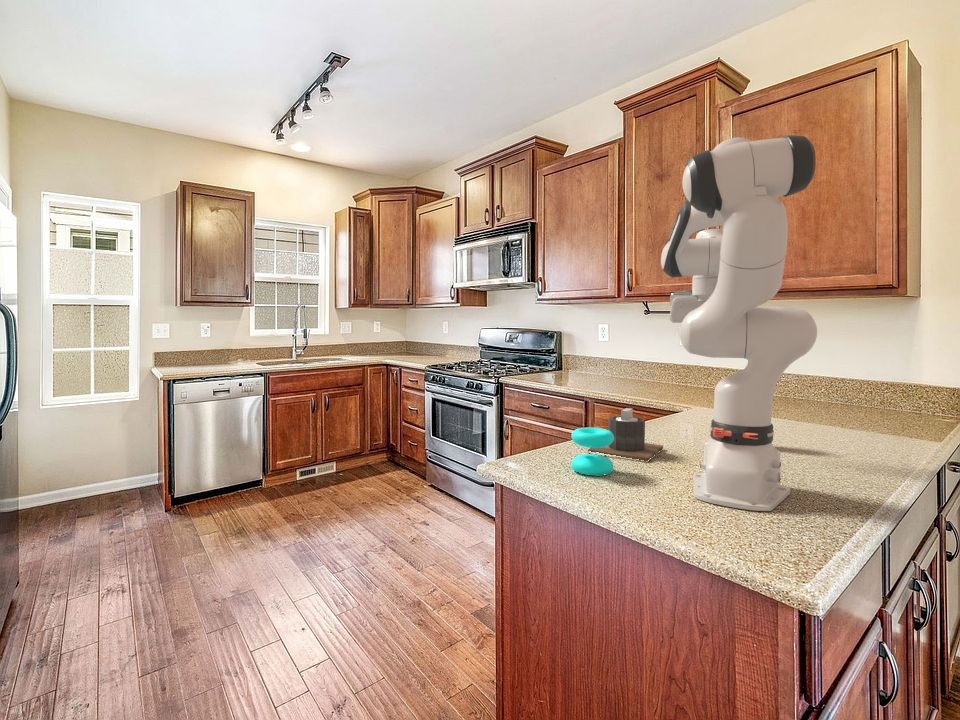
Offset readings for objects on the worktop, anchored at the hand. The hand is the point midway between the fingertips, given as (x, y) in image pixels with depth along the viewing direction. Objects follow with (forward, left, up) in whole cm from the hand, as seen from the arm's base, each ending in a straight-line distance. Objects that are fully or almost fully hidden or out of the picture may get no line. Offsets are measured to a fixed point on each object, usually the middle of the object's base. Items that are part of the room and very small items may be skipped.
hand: (707, 339), depth 140 cm
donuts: (-39, +18, -31) cm, 53 cm away
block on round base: (-16, +17, -24) cm, 34 cm away
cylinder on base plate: (-16, +17, -31) cm, 39 cm away
